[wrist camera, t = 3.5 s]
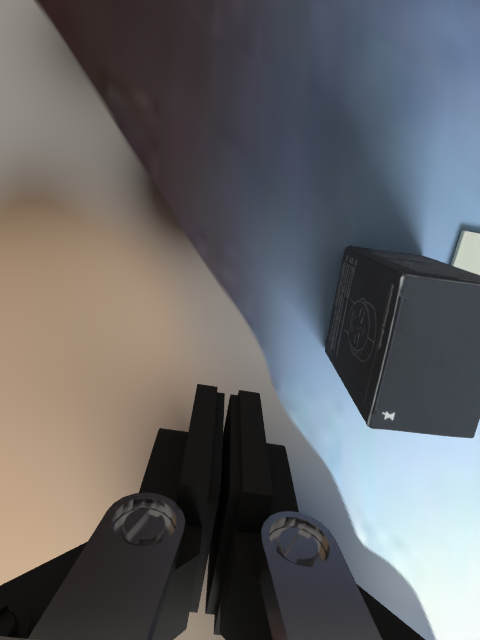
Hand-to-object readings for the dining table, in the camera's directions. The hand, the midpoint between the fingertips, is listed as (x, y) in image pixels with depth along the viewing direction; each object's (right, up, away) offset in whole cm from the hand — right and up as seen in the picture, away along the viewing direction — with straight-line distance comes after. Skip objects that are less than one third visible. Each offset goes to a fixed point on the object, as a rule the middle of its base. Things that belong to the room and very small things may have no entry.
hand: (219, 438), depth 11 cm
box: (+10, +4, +19) cm, 21 cm away
